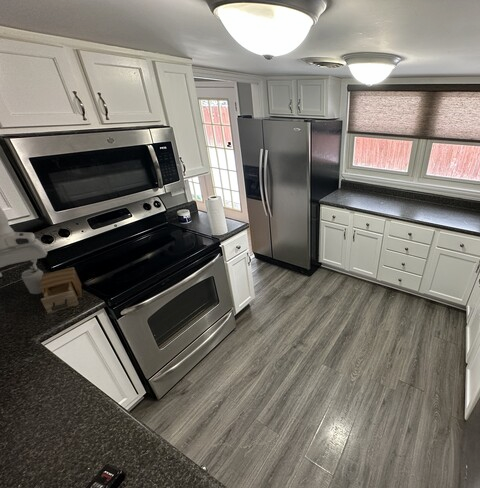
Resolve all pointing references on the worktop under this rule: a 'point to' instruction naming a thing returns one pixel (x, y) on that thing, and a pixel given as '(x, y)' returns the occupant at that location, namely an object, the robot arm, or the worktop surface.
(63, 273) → the storage box
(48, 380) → the worktop surface
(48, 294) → the drawer
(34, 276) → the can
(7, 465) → the worktop surface
